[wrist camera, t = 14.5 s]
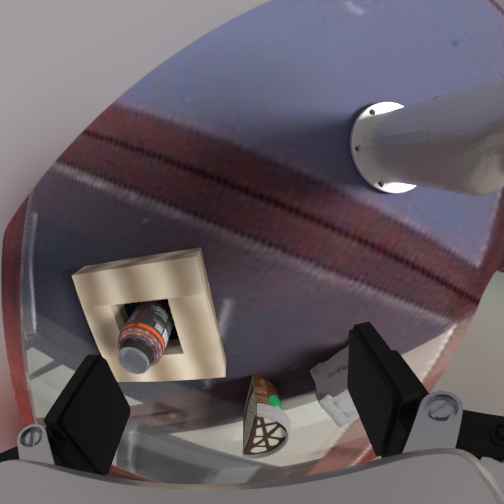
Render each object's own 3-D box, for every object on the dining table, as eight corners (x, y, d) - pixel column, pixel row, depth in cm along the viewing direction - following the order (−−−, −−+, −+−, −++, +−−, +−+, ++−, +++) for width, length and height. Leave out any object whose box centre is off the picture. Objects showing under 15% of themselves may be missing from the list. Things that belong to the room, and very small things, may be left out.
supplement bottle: (133, 323, 41) (105, 368, 30) (142, 290, 39) (112, 331, 28) (169, 338, 41) (151, 387, 31) (180, 306, 40) (162, 352, 29)
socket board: (201, 247, 38) (196, 256, 34) (226, 360, 43) (225, 376, 39) (84, 266, 38) (71, 275, 34) (121, 366, 43) (113, 381, 39)
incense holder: (357, 327, 42) (383, 367, 32) (375, 359, 44) (400, 398, 34) (303, 361, 43) (317, 407, 33) (326, 389, 45) (342, 433, 35)
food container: (275, 420, 47) (281, 462, 38) (242, 417, 47) (242, 460, 37) (292, 371, 44) (303, 415, 34) (254, 367, 43) (257, 413, 34)
